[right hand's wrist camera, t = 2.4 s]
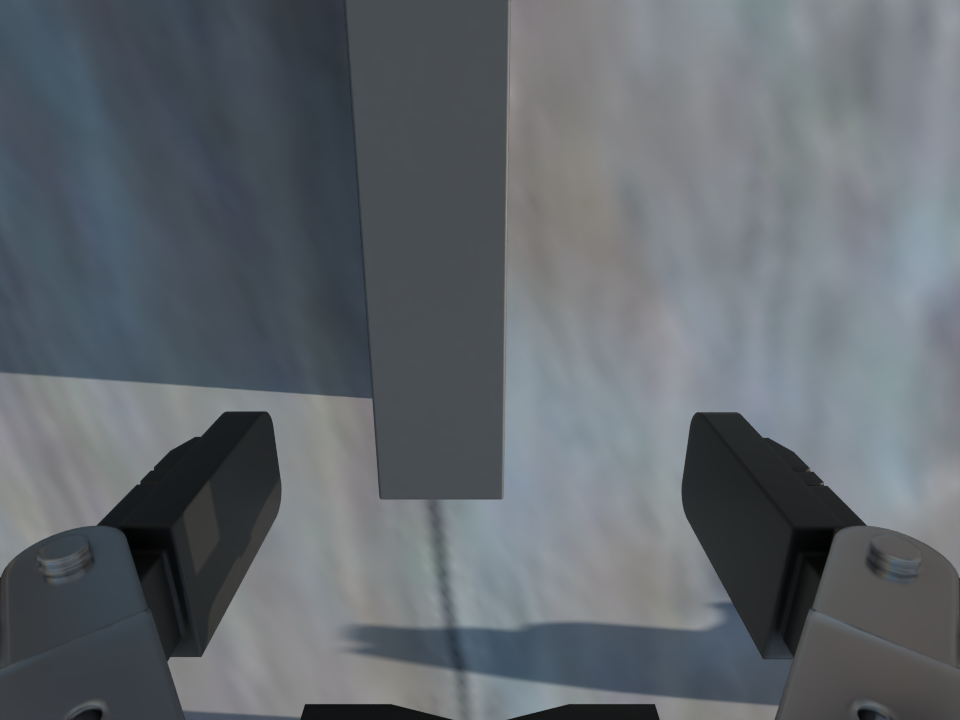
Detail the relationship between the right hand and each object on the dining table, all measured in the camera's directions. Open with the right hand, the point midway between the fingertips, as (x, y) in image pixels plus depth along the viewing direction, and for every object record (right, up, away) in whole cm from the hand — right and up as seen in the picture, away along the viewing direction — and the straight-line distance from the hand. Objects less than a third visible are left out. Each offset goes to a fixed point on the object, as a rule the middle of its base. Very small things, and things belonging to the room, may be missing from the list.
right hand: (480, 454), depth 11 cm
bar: (-1, +29, +6) cm, 30 cm away
